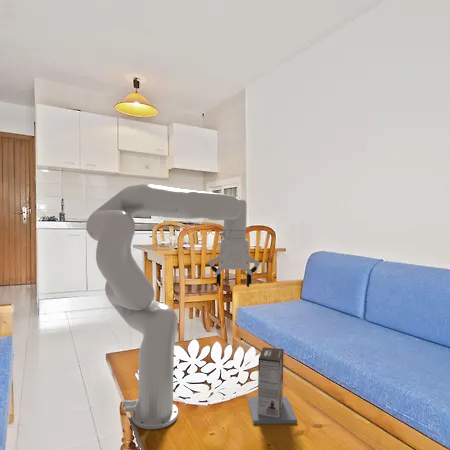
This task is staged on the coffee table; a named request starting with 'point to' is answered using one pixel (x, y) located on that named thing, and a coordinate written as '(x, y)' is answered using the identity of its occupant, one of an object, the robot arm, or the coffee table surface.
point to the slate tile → (285, 417)
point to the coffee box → (270, 382)
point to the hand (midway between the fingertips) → (233, 286)
